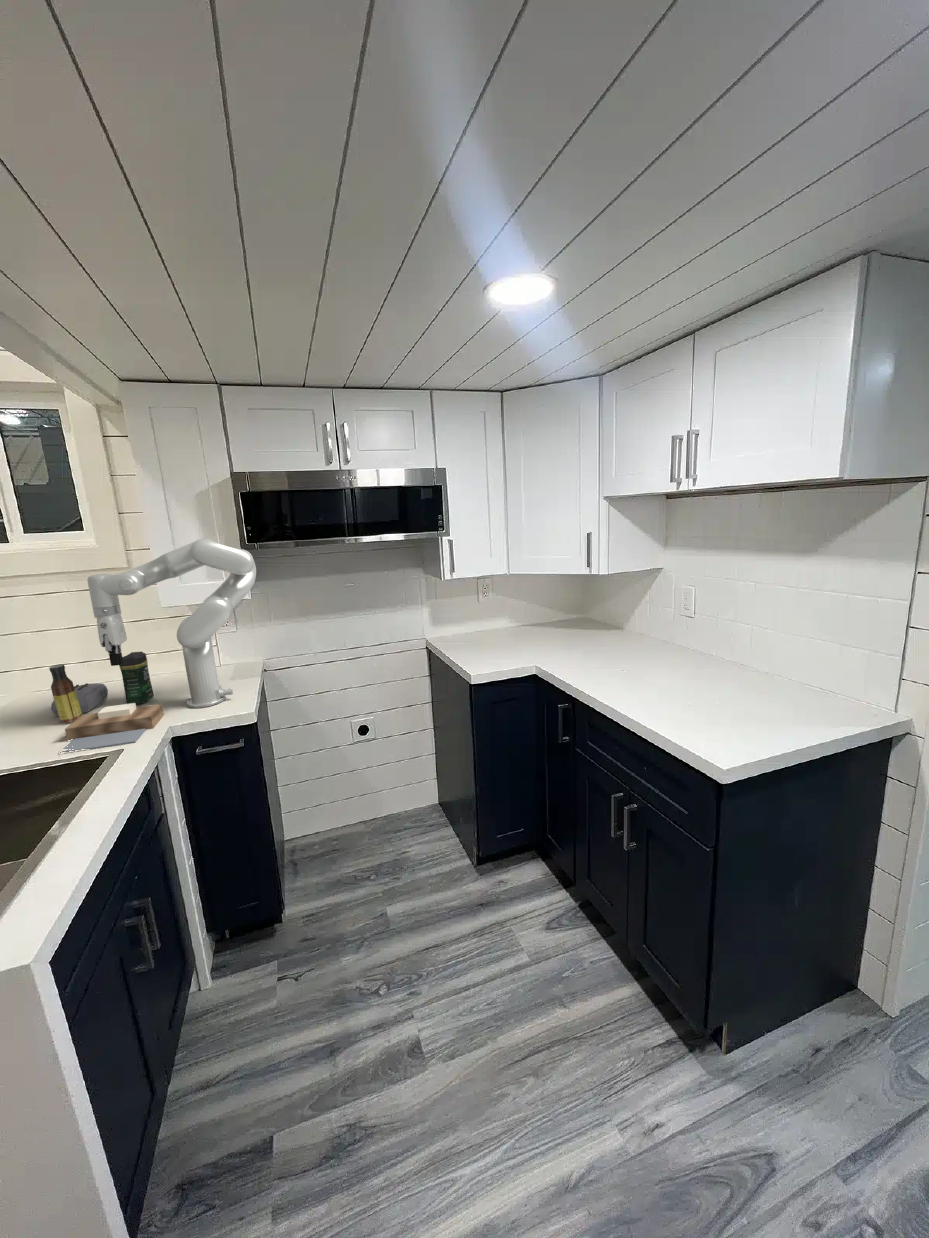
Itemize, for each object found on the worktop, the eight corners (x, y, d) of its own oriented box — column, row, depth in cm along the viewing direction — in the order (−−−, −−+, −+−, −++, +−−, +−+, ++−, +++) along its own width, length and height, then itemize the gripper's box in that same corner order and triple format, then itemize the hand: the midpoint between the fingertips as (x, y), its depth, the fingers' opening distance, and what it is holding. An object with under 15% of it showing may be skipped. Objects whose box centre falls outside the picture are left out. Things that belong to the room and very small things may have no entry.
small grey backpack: (72, 702, 199) (43, 721, 180) (68, 681, 198) (37, 699, 179) (116, 696, 202) (91, 715, 183) (111, 676, 201) (86, 693, 181)
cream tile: (136, 708, 175) (135, 702, 175) (130, 714, 169) (128, 709, 169) (106, 712, 173) (104, 706, 173) (98, 719, 167) (97, 713, 167)
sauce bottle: (79, 715, 183) (67, 661, 179) (85, 719, 179) (72, 664, 175) (57, 722, 178) (43, 666, 174) (62, 726, 174) (48, 669, 170)
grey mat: (146, 729, 167) (145, 728, 166) (135, 742, 157) (134, 741, 157) (74, 740, 162) (74, 738, 162) (58, 754, 152) (58, 752, 152)
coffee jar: (147, 704, 190) (137, 655, 187) (123, 707, 189) (113, 658, 185) (157, 695, 200) (148, 649, 196) (135, 698, 199) (125, 651, 195)
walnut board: (164, 715, 179) (161, 704, 178) (153, 728, 167) (150, 716, 166) (84, 726, 173) (81, 715, 172) (67, 741, 162) (64, 729, 161)
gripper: (111, 614, 166) (121, 669, 170) (128, 606, 180) (137, 657, 184) (84, 616, 164) (95, 672, 168) (103, 608, 179) (113, 660, 182)
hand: (117, 664), depth 176 cm, fingers closed
